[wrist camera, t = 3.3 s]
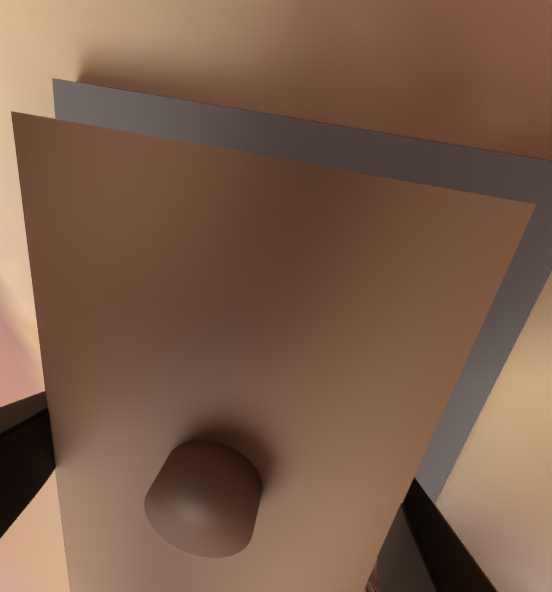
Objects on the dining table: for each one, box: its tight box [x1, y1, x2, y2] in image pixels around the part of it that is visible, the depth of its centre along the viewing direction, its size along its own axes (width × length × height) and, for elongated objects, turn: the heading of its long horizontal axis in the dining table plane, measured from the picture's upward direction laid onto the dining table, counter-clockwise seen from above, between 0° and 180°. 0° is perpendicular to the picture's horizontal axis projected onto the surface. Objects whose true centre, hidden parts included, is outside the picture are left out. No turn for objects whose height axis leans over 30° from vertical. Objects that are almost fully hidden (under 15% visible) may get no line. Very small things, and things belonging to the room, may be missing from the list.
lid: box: [11, 111, 536, 592], centre depth 7 cm, size 7×12×2 cm, turn 171°
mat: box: [52, 78, 552, 503], centre depth 11 cm, size 14×14×1 cm
